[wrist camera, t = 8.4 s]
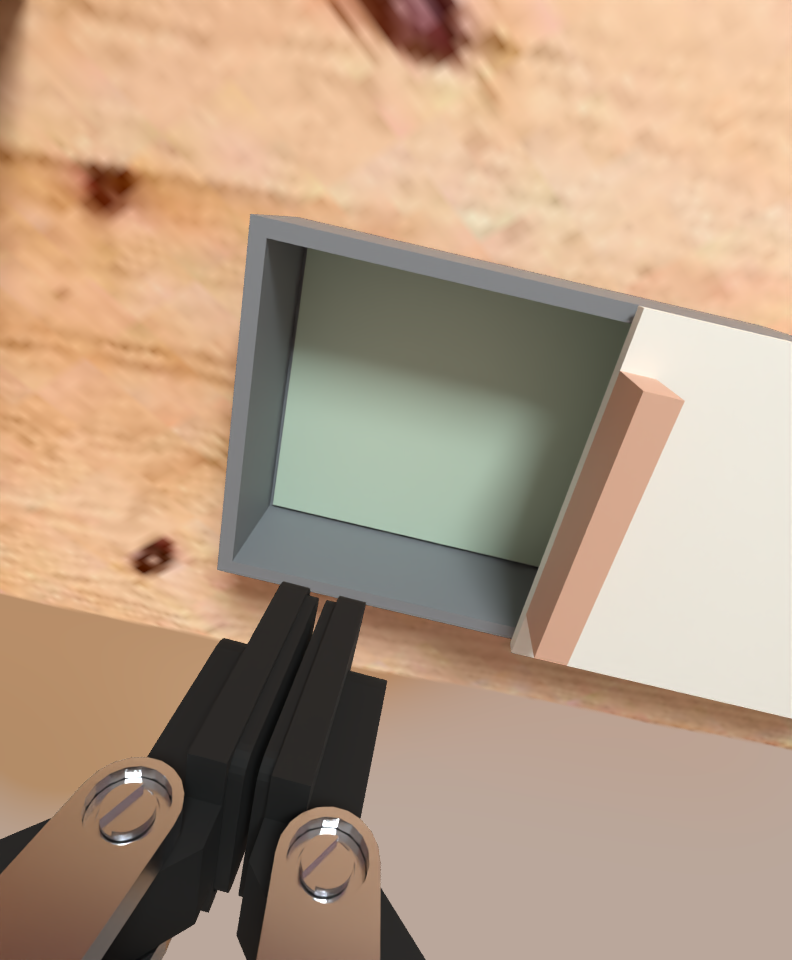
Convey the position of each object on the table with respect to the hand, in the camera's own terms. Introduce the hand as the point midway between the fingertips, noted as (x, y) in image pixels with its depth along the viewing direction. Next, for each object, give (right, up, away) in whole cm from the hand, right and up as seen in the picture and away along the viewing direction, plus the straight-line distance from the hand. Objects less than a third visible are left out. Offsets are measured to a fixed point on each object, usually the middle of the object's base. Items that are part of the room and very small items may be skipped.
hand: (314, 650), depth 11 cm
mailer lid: (+18, 0, +10) cm, 20 cm away
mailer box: (+6, +6, +15) cm, 18 cm away
